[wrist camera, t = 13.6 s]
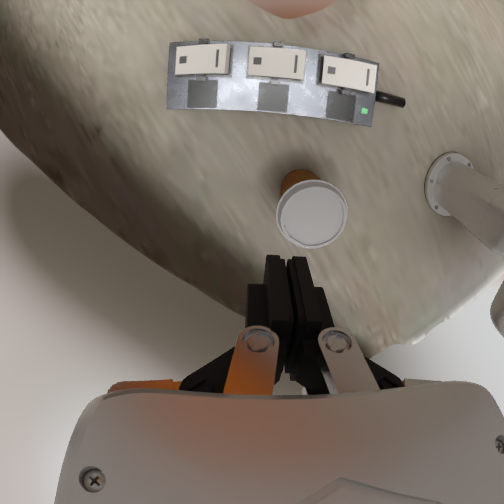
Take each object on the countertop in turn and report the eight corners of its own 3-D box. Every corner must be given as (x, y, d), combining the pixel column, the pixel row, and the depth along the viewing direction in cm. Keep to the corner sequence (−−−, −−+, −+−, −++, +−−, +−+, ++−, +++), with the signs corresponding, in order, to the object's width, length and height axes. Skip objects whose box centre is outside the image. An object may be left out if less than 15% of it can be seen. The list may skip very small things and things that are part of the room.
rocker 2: (306, 50, 30) (306, 49, 29) (303, 81, 33) (303, 81, 32) (252, 46, 31) (249, 44, 30) (249, 76, 34) (247, 76, 33)
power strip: (402, 74, 36) (420, 74, 31) (394, 130, 41) (411, 137, 36) (176, 46, 35) (165, 40, 30) (173, 107, 40) (162, 110, 35)
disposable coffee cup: (260, 175, 46) (263, 203, 36) (315, 149, 44) (335, 170, 33) (286, 223, 50) (295, 262, 40) (337, 200, 48) (359, 233, 38)
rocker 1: (230, 43, 30) (226, 42, 29) (228, 75, 32) (224, 74, 31) (181, 46, 31) (176, 45, 30) (179, 76, 34) (174, 75, 33)
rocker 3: (375, 64, 31) (377, 64, 30) (372, 94, 33) (374, 94, 32) (324, 55, 32) (324, 53, 31) (321, 84, 34) (321, 84, 33)
